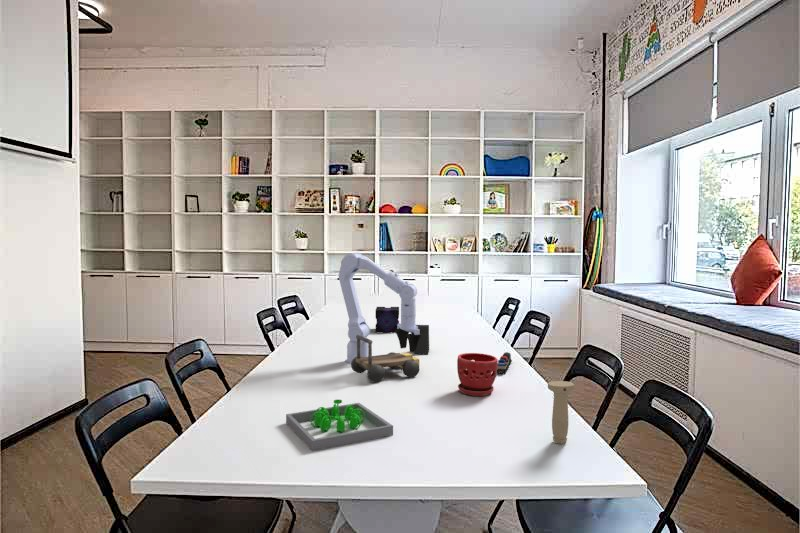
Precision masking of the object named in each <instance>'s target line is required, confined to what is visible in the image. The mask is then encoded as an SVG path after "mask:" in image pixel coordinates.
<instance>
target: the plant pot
mask: <svg viewBox="0 0 800 533" xmlns="http://www.w3.org/2000/svg"><path fill="white" fill-rule="evenodd" d="M498 360H499V359H498V358H497V357H496V356H493V355H490V354H487V353H479V352H478V353H477V352H467V353H466V352H465V353H461V354H458V355H457V359H456V362H457V363H456V364H457V367H456V369H457V376H458V379H459V382H460V383H459V384H457V388H458V390H459V391H460V392H461V393H462V394H465V395H468V396H473V397H480V396H481V397H482V396H488V395H490V394H491V393H493V391H494V388H495V387H494V386H493V384H494V382H495V380H496V378H497V374H498V373H497V365H498Z"/></svg>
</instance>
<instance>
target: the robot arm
mask: <svg viewBox="0 0 800 533" xmlns="http://www.w3.org/2000/svg"><path fill="white" fill-rule="evenodd" d="M359 270H367V271H368V272H370V273H372V274H373V275H375V276H377V278H380V279H381V280H383V282H384V285H385V286H386V287H388V288H389V289H390V290H391V291H393V292H394V293H396V294H398V295H399V297H400V299H401V300H400V323H399V324H397V329H399V330H396V331H395V332H396V333H395V334H396V336H397V338H398V342H399V346H400V349H407V344H408V348H409V349H408V350H409V353H414V352H415V351H416V348H417V344H418V341H419V339H420V337H421V334H420V329H418V326H415V325H416V311H417V310H416V308H417V307H416V306H417V305H416V296H417V295H418V289H417V287H416V286H415V285H414V284H413V283H409V281H408V280H404V279H403V278H401V277H400V276H399V274H398V273H397V272H395V273H394V272H390V273H389V272H387V271H386V270H385V269H383V268H382V267H381V266H380V265H379V264H377V263H376V262H374V261H373V260H371V259H370V258H369V257H368V256H366V255H363V254H362V253H360V252H355V253H347V254H345V255H344V257H343V258H342V259H341V260H340V268H339V272H338V279H339V284H340V288H341V293H342V295H343V296H342V297H343V301H344V304H345V307H346V312H347V316H348V323H347V326H348V331H347V336H348V339H349V341H348V343H347V345H346V347H347V348H346V349H347V350H346V354H347V355H346V357H347V358H346V359H345V360H344V361H345V362H347V363H348V364H350V365H351V362H352V360H353V359H354V358H355V357H357V338H356V336H357V335H360V336H362V337H365V338H367V339H369V335H370V332H371V328H370V326H369V325H368V323H367V322H366V318H364V317H363V315H362V314H363V313H362V311H361V306H360V303H359V299H358V295H357V291H356V287H355V283H354V280H353V279H354V276H355V274H357V272H358V271H359ZM360 356H361V357H368V343H367V342H364V341H362V340H360Z"/></svg>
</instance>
